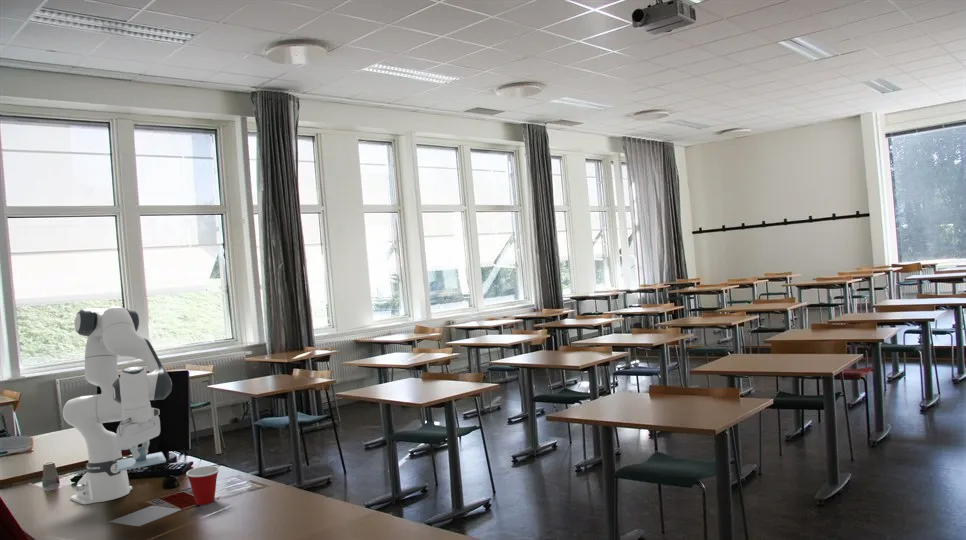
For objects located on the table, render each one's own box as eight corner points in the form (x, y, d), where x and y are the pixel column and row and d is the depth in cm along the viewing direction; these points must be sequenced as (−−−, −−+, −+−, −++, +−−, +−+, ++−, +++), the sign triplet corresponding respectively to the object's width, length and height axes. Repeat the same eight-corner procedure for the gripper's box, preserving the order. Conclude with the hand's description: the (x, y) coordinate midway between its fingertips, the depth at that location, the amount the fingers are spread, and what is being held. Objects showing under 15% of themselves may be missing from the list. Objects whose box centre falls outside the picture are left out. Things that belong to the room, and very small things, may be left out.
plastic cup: (199, 511, 232) (196, 475, 232) (182, 507, 238) (179, 472, 239) (228, 501, 241) (225, 466, 241) (211, 497, 247) (208, 464, 247)
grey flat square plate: (108, 523, 227) (108, 521, 227) (152, 507, 241) (152, 505, 241) (138, 528, 220) (138, 526, 220) (182, 511, 234) (182, 509, 234)
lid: (116, 462, 233) (115, 448, 233) (161, 454, 240) (160, 440, 240) (118, 471, 221) (117, 456, 221) (166, 462, 228) (164, 447, 228)
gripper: (127, 421, 220) (131, 464, 220) (162, 408, 241) (165, 447, 241) (109, 423, 221) (112, 466, 221) (145, 409, 241) (148, 449, 241)
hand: (140, 456), depth 231 cm, fingers closed on lid, 3 cm apart
